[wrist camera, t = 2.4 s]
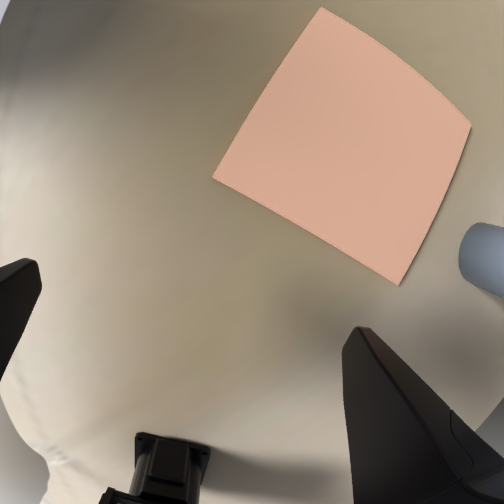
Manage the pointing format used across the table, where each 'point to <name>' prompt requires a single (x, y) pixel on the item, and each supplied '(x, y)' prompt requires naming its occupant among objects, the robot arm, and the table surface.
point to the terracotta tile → (349, 146)
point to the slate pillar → (483, 257)
